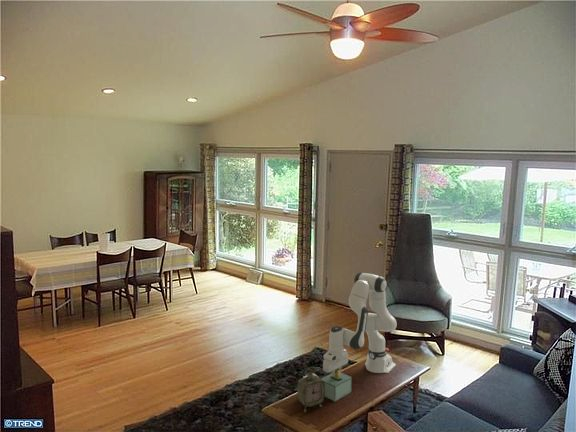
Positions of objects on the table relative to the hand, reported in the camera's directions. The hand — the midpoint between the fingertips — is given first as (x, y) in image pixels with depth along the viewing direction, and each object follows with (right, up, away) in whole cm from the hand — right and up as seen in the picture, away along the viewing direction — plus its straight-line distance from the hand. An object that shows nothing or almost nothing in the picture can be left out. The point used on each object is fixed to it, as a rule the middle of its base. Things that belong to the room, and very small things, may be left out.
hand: (335, 374), depth 280 cm
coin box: (0, -12, +2) cm, 12 cm away
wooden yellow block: (0, -2, 0) cm, 2 cm away
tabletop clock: (-17, -15, -14) cm, 26 cm away
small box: (-16, -13, -2) cm, 20 cm away
